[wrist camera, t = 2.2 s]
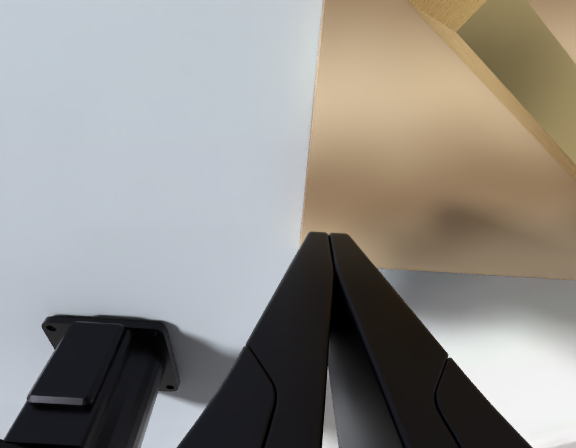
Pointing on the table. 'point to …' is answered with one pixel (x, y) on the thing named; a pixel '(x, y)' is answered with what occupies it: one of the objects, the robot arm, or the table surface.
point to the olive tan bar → (514, 65)
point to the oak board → (430, 152)
